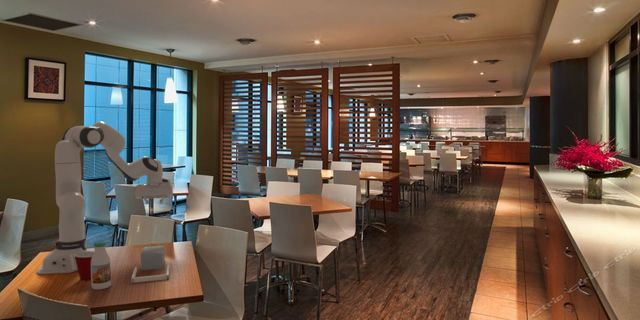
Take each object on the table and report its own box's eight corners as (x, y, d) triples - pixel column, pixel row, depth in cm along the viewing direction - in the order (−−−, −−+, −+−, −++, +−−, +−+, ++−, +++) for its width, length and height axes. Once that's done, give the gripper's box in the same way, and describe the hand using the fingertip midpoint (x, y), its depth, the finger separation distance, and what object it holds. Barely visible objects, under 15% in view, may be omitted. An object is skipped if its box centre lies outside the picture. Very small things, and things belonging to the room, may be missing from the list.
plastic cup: (105, 277, 209) (104, 251, 208) (82, 283, 200) (81, 257, 199) (92, 273, 215) (91, 248, 214) (69, 279, 206) (68, 254, 205)
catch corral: (131, 282, 201) (131, 278, 201) (134, 271, 217) (134, 267, 217) (168, 279, 206) (168, 274, 206) (169, 268, 222) (169, 264, 222)
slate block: (141, 270, 219) (140, 254, 219) (144, 262, 233) (143, 247, 232) (162, 268, 222) (162, 252, 221) (164, 260, 235) (164, 245, 235)
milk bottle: (87, 288, 194) (85, 243, 193) (101, 283, 201) (100, 239, 200) (101, 291, 191) (99, 245, 190) (115, 285, 198) (113, 240, 197)
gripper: (134, 181, 253) (133, 201, 244) (172, 179, 259) (172, 199, 250) (135, 188, 257) (134, 207, 249) (173, 186, 263) (173, 205, 255)
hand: (154, 203), depth 249 cm, fingers open, 6 cm apart
